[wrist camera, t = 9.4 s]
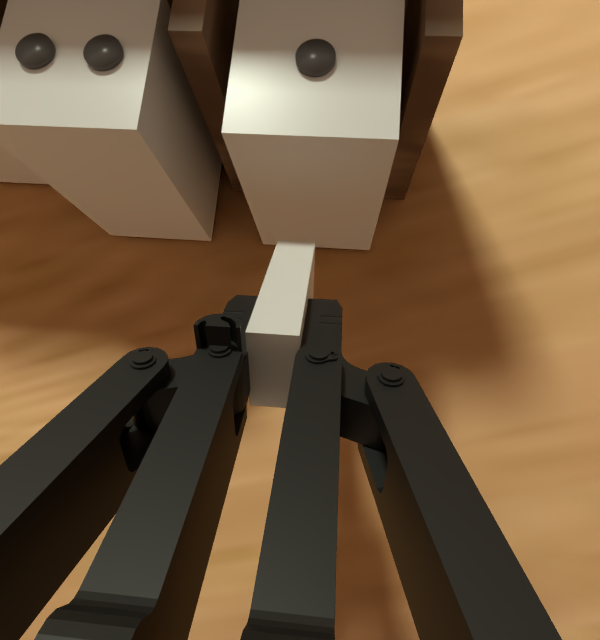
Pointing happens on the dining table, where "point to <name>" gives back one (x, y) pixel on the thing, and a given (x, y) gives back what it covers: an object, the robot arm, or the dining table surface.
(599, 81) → the dining table surface
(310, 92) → the key one
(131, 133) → the key two
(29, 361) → the dining table surface
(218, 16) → the brown slotted rack
